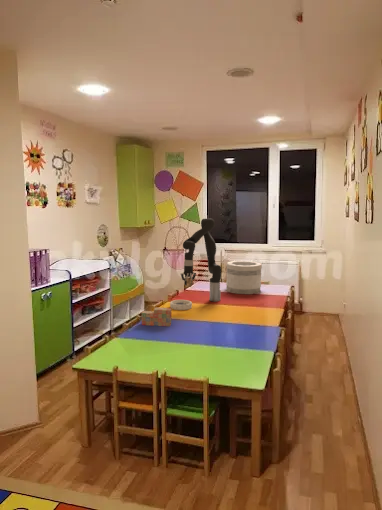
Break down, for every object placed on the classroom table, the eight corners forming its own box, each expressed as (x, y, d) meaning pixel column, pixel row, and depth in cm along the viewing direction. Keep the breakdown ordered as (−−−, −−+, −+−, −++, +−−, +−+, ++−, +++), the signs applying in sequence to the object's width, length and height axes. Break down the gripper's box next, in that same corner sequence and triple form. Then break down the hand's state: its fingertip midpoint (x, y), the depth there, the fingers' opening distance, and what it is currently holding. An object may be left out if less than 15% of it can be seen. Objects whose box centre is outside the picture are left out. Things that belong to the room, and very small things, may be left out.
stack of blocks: (141, 325, 307) (141, 309, 306) (143, 322, 314) (143, 306, 312) (170, 326, 305) (170, 310, 304) (171, 323, 312) (171, 307, 310)
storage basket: (267, 292, 416) (268, 265, 412) (236, 295, 403) (237, 267, 399) (249, 285, 448) (250, 260, 444) (220, 287, 435) (220, 261, 431)
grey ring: (186, 303, 369) (186, 299, 369) (194, 308, 353) (195, 304, 352) (167, 305, 363) (167, 300, 362) (174, 310, 346) (174, 305, 346)
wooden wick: (189, 285, 357) (189, 277, 356) (191, 286, 353) (191, 278, 352) (185, 286, 356) (185, 277, 355) (186, 287, 352) (187, 278, 351)
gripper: (194, 263, 358) (194, 283, 361) (179, 264, 353) (178, 284, 355) (198, 265, 351) (197, 285, 354) (182, 266, 346) (182, 286, 348)
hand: (188, 284), depth 354 cm, fingers closed on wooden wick, 4 cm apart
